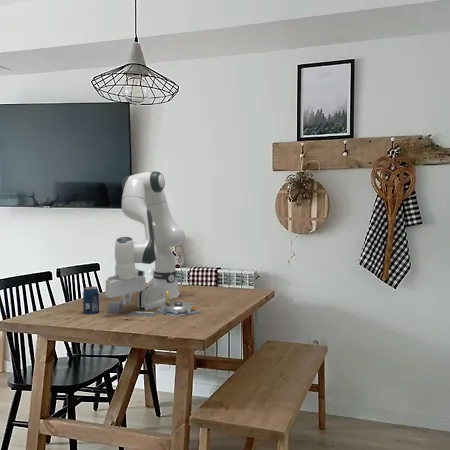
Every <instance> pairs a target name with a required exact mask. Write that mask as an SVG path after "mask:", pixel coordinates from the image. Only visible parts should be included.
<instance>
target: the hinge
mask: <svg viewBox="0 0 450 450" xmlns="http://www.w3.org/2000/svg"><path fill="white" fill-rule="evenodd" d="M161 305H165V293H164V288H163V287H160V286H149V287H146V288H145V290H144V291H140V292H137V308H144V312H147V311H148V310H152V309H154V308H158V307H161Z"/></svg>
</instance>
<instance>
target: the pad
mask: <svg viewBox="0 0 450 450" xmlns="http://www.w3.org/2000/svg"><path fill="white" fill-rule="evenodd" d="M158 314H159V312H156V311H137V310H133V311H131V312H130V313H129V314H128V315H129V316H128V317H138V316H146V317H148V318H154V317H155V316H157V315H158ZM151 316H152V317H151ZM146 317H145V318H146Z"/></svg>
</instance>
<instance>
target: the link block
mask: <svg viewBox="0 0 450 450" xmlns="http://www.w3.org/2000/svg"><path fill="white" fill-rule="evenodd" d="M107 304H108V306H107V307H108V308H107V311H108V312H107V313H108V314H120V313H122V312H123V308H124V307H123V300H111V301H109V302H108V303H107Z"/></svg>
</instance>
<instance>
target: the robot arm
mask: <svg viewBox="0 0 450 450" xmlns="http://www.w3.org/2000/svg"><path fill="white" fill-rule="evenodd" d="M165 184H166V181H165V176H164V175H163V174H162V173H161V172H160V171H157V170H156V171H154V170H153V171H146V172H145V171H144V172H140V173H135V174H132V175H127V176H125V177H124V178H123V179H122V182H121V189H122V195H121V210H122V213H123V214H124V215H125V216H126V217H127V218H129V219H131V220H133V221H136V222H138V223H141V224H142V225H143V226H144V234H145V241H144V242H143V241H141V242H137V241H135V242H134V239H133V237H130V236H123V237H122V236H121V237H119V238H116V240H115V244H114V260H115V266H114V272H115V273H114V275H112V276H108V278H106V280H105V289H104V291H105V293H104V294H105V295H104V296H105V297H106V298H109V299H113V298H114V299H115V298H118V297H119V298H120V299H121V301H122V305H124V306H125V305H129V304H130V303H131V300H132V297H133V294H134V293H138V292H140V291H144V290H145V288H146V287H149V286H160V287H163V288H164V293H165V291H170V300H173V298H174V299H177V298H179V296H180V295H181V292H180V291H179V290H180V289H179V282H178V279H177V270H176V256H175V254H174V253H173V251H172V249H171V247H178V246H181V245H182V244H183V243H184V241H185V238H186V234H185V231H184V229H182V228H181V227H180V226H179V225H178V224H177V222H176V221H175V220H174V219H175V218H173V216H172V214H171V211H170V208H169V204H168V201H167V197H166V194H165V191H164V189H165ZM153 263H154V271H152V274H153V275H152V278H151V279H150V280H149V281H148V282H147V283H146V277H145V273H146V272H145V270H141V269H139V268H136V264H146V265H151V264H153ZM126 296H127V297H126Z"/></svg>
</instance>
